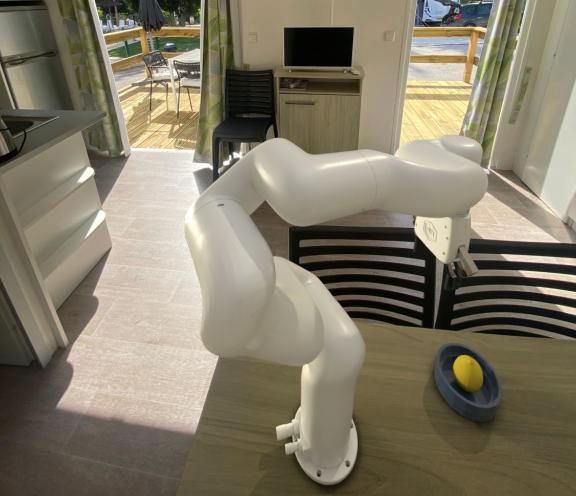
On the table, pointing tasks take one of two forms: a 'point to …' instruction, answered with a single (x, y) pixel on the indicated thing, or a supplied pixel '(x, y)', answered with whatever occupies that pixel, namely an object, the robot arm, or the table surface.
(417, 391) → the table surface
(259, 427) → the table surface
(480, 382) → the lemon
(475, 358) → the bowl
